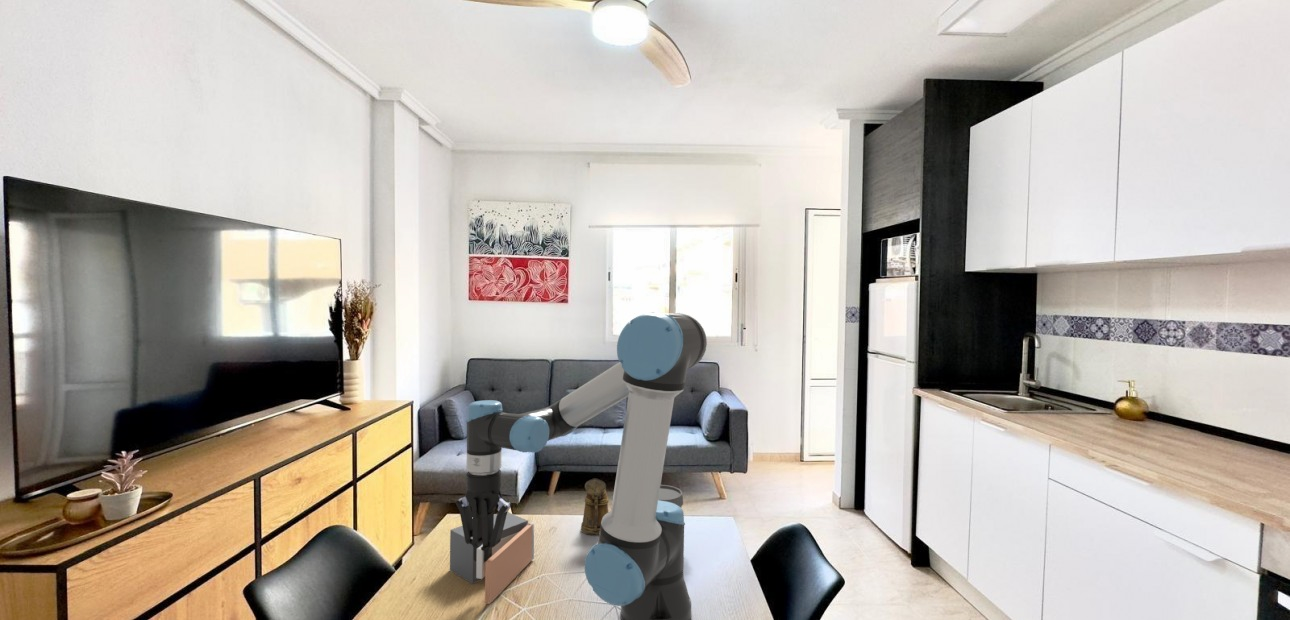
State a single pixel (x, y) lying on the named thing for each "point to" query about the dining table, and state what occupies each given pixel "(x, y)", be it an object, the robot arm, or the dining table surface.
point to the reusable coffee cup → (671, 495)
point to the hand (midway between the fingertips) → (482, 575)
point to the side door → (508, 562)
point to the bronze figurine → (594, 506)
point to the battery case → (464, 552)
